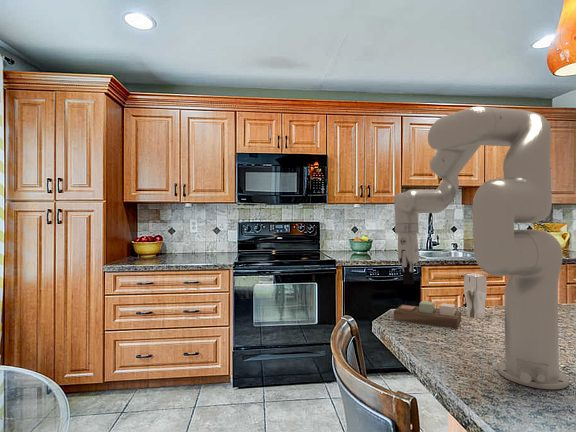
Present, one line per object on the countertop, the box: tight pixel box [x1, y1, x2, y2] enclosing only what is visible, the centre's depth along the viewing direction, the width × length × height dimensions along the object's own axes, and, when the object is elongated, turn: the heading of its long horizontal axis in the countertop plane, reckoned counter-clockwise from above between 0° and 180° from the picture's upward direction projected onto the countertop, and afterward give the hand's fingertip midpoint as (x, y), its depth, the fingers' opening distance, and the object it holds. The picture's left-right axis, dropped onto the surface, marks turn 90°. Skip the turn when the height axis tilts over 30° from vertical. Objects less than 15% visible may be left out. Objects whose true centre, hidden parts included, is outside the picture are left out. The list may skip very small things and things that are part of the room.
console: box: [393, 304, 462, 330], centre depth 116 cm, size 10×19×4 cm, turn 58°
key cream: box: [439, 302, 456, 316], centre depth 113 cm, size 4×4×3 cm
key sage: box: [418, 300, 436, 314], centre depth 116 cm, size 4×4×3 cm
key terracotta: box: [400, 304, 415, 311], centre depth 119 cm, size 4×4×3 cm
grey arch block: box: [463, 272, 488, 319], centre depth 121 cm, size 7×7×15 cm
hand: (408, 283), depth 119 cm, fingers closed
